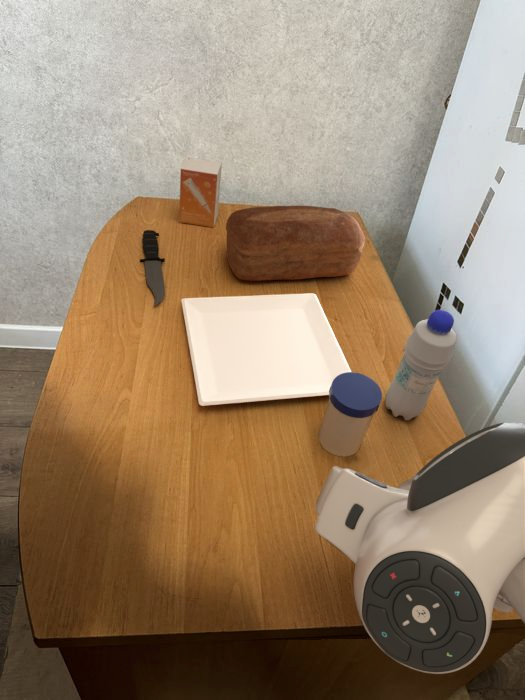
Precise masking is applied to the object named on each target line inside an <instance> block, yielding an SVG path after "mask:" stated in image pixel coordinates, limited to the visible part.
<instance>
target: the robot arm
mask: <svg viewBox="0 0 525 700" xmlns="http://www.w3.org/2000/svg"><path fill="white" fill-rule="evenodd" d="M412 479H413V481H412V484H411V487H410V491H408V490H404V489H399V488H397V487H394V486H391V485H388V484H386V483H384V482H381V481H379V480H376V479H375V478H371V477H369V476H367V475H365V474H363V473H361V472H358V471H355V470H353V469H351V468H347V467H346V468H341V467H340V466H337V465H335V466H332V467H331V469H330V471H329V473H328V475H327V477H326V479H325V481H324V484H323V486H322V487H321V490H320V491H319V494H318V497H317V498H316V502H315V513H316V514H317V518H316V521H315V525H314V530H315V532H316V533H317V534H318V535H319V536H320V537H322V538H323V539H325V540H326V542H328V543H329V544H331V545H332V546H333V547H335V548H336V549H337V550H338V551H340V552H341V553H342V554H343V555H345V556H346V557H347V558H349V560H350V561H352V562H353V564H354V565H355V567H354V572H353V593H354V600H355V605H356V609H357V612H358V615H359V618H360V621H361V623H362V626H363V628H364V629H365V631H366V633H367V635H368V636H369V637H370V638H371V640H372V641H373V643H374V644H375V645H376V646H377V647H378V648H379V649H380V650H381V652H383V653H384V654H385V655H387V657H388V658H389V657H390V659H392V660H394V661H395V662H397V663H398V664H400V665H402V666H404V667H407V668H409V669H411V670H415V671H417V672H421V673H424V674H425V673H426V674H433V675H444V674H450V673H454V672H457V671H460V670H461V669H464V668H466V667H467V666H469V665H470V664H472V663H473V662H474V661H475V660H476V659H477V658H478V657H479V655H480V654H481V653H482V651H483V650H484V647H485V646H486V644H487V642H488V639H489V636H490V633H491V628H492V623H493V612H494V610H497V611H499V612H502V613H505V614H508V613H511V612H512V611H513V610H514V612H515V613H516V614H517V616H518V617H519V618H520V619H521V621H522V622H523V624H525V422H499V423H495V424H492V425H489V426H487V427H484V428H482V429H479V430H477V431H475V432H473V433H471V434H468V435H467V436H465V437H463V438H461V439H460V440H458V441H456V442H454V443H453V444H451V445H450V446H448V447H447V448H445V449H444V450H443V451H441V452H440V453H439V454H437V455H436V456H434V457H433V458H432V459H431V460H429V462H427V463H426V464H425V465H424V466H423V467H422V468H421V469H419V471H418V472H417V473H416V474H415V475H414V476H413V478H412Z"/></svg>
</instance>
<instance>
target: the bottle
mask: <svg viewBox="0 0 525 700" xmlns="http://www.w3.org/2000/svg"><path fill="white" fill-rule="evenodd" d="M454 323H455V318H454V316H453V314H451V313H450V312H449V311H446V310H443V309H437V310H434V311H432V312H431V313H430V315H429V317H428V318H426V319H422V320H420V321H418V323H416V324H415V326H414V328H413V329H412V332H410V334H409V335H408V337H407V338H406V343H405V344H404V349H403V351H404V353H403V355H402V358H401V359H400V363H399V365H398V368H397V369H396V373H395V375H394V377H393V379H392V381H391V382H390V384H389V386H388V388H387V390H386V394H385V407H386V409H388V410H391V414H392V416H393V417H394V418H396V417H398V416H402V417H403V420H404V421H409V420H411V419H413V418H417V417H419V416H420V415H421V414H422V413H423V411H424V410H425V407H426V405H427V403H428V401H429V398H430V396H431V393H432V391H433V389H434V387H435V385H436V383H437V381H438V379H439V377H440V375H441V373H442V371H443V369H444V368H446V367H447V366H448V364H449V362H450V360H451V359H452V357H453V353H454V350H455V347H456V344H457V339H458V338H457V333H456V332H455V330H454V329H453V326H454Z"/></svg>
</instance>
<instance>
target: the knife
mask: <svg viewBox="0 0 525 700" xmlns="http://www.w3.org/2000/svg"><path fill="white" fill-rule="evenodd" d="M157 237H160V233H159V232H156V230H152V229H151V230H150V229H146V230H143V232H142V243H141V244H142V251H143V254H144V257H145V258H141V259H139V263H141V264H144V269H145V270H144V271H145V277H146V284H147V286H148V287H149V288H150V289H151V291H152V293H153V296H154V302H153V306H152V307H155V306H157V305H158V304H160V303H161V302H162V301H163V300H164V298H165V294H166V289H165V287H166V286H165V280H164V273H163V266H162V263H165V262H166V258H164V257H163V258H161V257H159V254H160V253H159V250H160V249H159V239H158V238H157Z"/></svg>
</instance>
